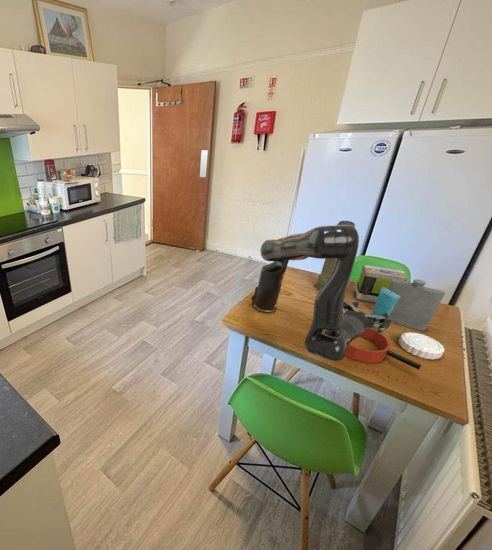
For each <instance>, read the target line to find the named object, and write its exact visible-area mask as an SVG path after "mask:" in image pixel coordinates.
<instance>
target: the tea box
mask: <svg viewBox="0 0 492 550" xmlns="http://www.w3.org/2000/svg"><path fill="white" fill-rule="evenodd" d="M392 279H397V280H400V281H405V282H408V279H409V278H408V277H407V274H406V273H405V271H404V270H403V269H398V268H397V269H396V268H391V267H383V266H376V265H370V264H363V265H362V269H361V272H360V274H359V277H358V280H357V283H356V286H355V288H354V292H355V299H356V300H361V301H365V302H369V303H375V304H376V302H377V299H378V296H379V294H380V291H381V288H382V286H383V287H384V288H386V289H388V287H389V285H390V283H391V281H392Z"/></svg>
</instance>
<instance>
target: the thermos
mask: <svg viewBox="0 0 492 550" xmlns="http://www.w3.org/2000/svg"><path fill="white" fill-rule="evenodd" d="M336 225H350V226H353V227H354V228H355V229H356V223H355V222H354V221H350V220H340V221H338V223H337V224H336ZM335 263H336V258H329V259H324V262H323V266H322V267H321V272H320V273H319V274H318V277H317V280H316V285H315V288H316V289H317V290H319V291H320V289H321V288H322V286H323V285H324V284H325V283H326V281H327V280H328V279H329V277H330V275H331V274H332V272H333V270H334V267H335Z"/></svg>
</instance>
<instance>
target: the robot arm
mask: <svg viewBox="0 0 492 550" xmlns="http://www.w3.org/2000/svg"><path fill="white" fill-rule="evenodd" d="M359 243H360V235H359V232H358V230H357V228H356V227H355V228H354V227H353V226H350V225H337V224H335V225H320V226H316V227H314V228H311V229H310V230H307V231H305V232H299V233H293V234H289V235H286V236H282V237H280V238H277V239H266V240H265V241H264V242H263V243H262V244H261V247H260V256H261V258H262V259H263V261H265V262H270V263H268V264H264V265H263V266H262V267H261V269H260V275H259V279H258V283H257V286H256V287H255V289H254V294H252V295H251V301H252V304H251V306H253V307H254V308H255V309H256V310H257V311H259V312H262V313H267V314H268V313H274V312H275V311H276V310H277V306H278V304H279V302H278V300H279V297H280V292H281V289H282V284H283V280H284V277H285V273H286V271H287V268H288V265H289V261H303V260H306V259H308V258H313V259H317V260H318V259H320V260H325V259H329V258H336V263H335V267H334V270H333V272H332V274H331V275H330V277H329V279H328V280H327V281H326V283H325V284H324V285H323V286H322V288H321V289H320V290H319V291H318V292H317V294H316V296H315V299H314V303H313V317H312V322H311V325H310V327H309V330H308V332H307V334H306V336H305V339H304V347H305V350H306V351H307V352H308V353H309V354H311V355H314V356H317V357H319V358H323V359H325V360H329V361H331V362H340V361H342V360H343V359H344V358H345V357H346V355H345V354H346V351H347V347H348V345H349V344H351V343H352V342H353V341H354V340H356V339H358V338H359V337H362V336H361V335H362V334H363V333H364V332H365V331H366V330H367V329H368V328H371V327H374V328H376V329H378V330H377V332H379V333H381V334H383V332H384V331H386V330H387V329H389V327H390V326H391V324H392V322H391V320H387V319H388V317H389V315H387V314H388V313H384V314H383V315H382V316H377V315H371V314H369V313H366V312H363V311H360V310H358V307H359V305H360V302H359V301H356V302H355V301H353V302H352V303H349V304H348V303H347V302H345V297H346V292H347V290H348V289H347V288H348V286H349V282H350V278H351V276H352V272H353V268H354V265H355V261H356V258H357V254H358V250H359V246H360V245H359ZM372 318H373V319H372ZM378 320H379V321H378ZM324 330H325V331H324ZM323 331H324V333H323Z"/></svg>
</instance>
